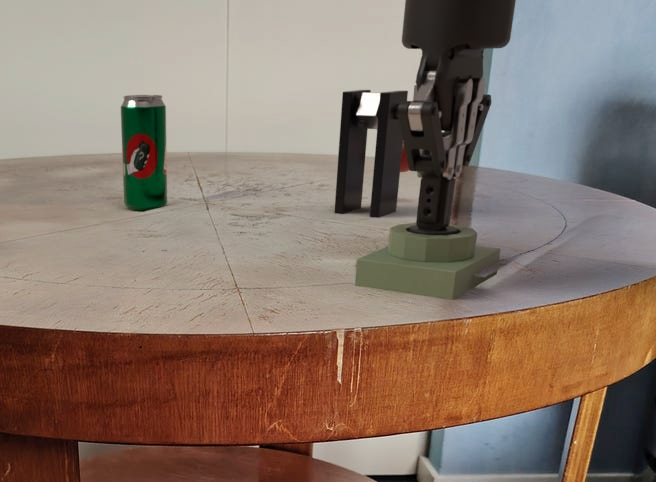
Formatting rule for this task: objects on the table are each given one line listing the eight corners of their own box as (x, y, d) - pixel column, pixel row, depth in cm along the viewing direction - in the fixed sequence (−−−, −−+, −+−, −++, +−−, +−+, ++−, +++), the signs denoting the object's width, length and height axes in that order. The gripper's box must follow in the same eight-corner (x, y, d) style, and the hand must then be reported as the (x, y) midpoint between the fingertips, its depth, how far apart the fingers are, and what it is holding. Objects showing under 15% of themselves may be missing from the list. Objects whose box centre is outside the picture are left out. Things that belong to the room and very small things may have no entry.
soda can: (175, 208, 105) (173, 95, 99) (136, 212, 102) (133, 97, 97) (154, 203, 109) (152, 94, 103) (116, 206, 106) (112, 95, 101)
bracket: (336, 213, 101) (345, 88, 95) (430, 223, 95) (446, 90, 89) (297, 226, 94) (304, 92, 88) (395, 237, 89) (409, 94, 83)
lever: (389, 176, 100) (398, 148, 100) (416, 178, 99) (425, 150, 99) (349, 119, 89) (359, 87, 89) (379, 120, 88) (389, 88, 88)
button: (460, 249, 72) (463, 226, 71) (444, 257, 69) (446, 234, 68) (418, 244, 74) (420, 222, 73) (400, 251, 71) (402, 229, 70)
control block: (496, 275, 74) (504, 225, 72) (452, 301, 67) (459, 246, 65) (405, 263, 78) (410, 216, 76) (354, 286, 71) (358, 235, 69)
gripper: (484, -36, 56) (447, 248, 64) (545, -26, 65) (507, 220, 73) (372, -30, 60) (351, 236, 68) (446, -21, 69) (419, 212, 77)
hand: (432, 228), depth 71 cm, fingers closed
